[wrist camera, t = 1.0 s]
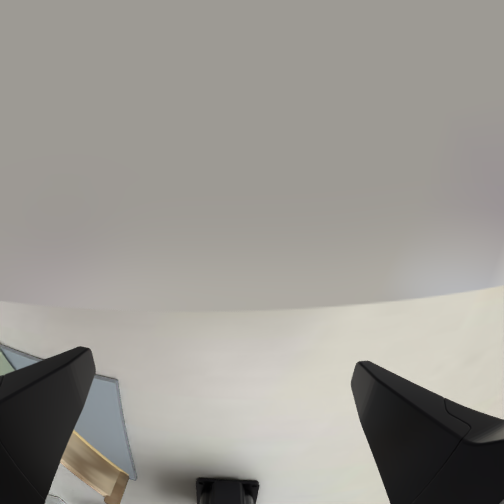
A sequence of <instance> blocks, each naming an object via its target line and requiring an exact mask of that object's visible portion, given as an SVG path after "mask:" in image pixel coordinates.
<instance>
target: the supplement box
mask: <svg viewBox="0 0 504 504" xmlns="http://www.w3.org/2000/svg"><path fill="white" fill-rule="evenodd" d="M45 501H46V502H45V504H66V503H65V502H64V501H63V500H62V499H61V498H58V497H54V496H50V495H47V498H46V500H45Z"/></svg>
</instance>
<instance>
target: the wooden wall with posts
mask: <svg viewBox="0 0 504 504" xmlns="http://www.w3.org/2000/svg"><path fill="white" fill-rule="evenodd" d="M60 463H61V464H62V465H64V466H65V467H66V468H67V469H68V470H70V471H71V472H72V473H73V474H74V475H76V476H77V477H78V478H80V479H81V480H82V481H83V482H85V483H86V484H87V485H89V486H90V487H91V488H93V489H94V490H96V491H97V492H98V493H100V494H101V495H103V496H104V497H105V499H104V501H105V503H107V504H120V502H121V499H122V496H123V494H124V491H125V488H126V485H127V483H128V480H129V476H128V475H127V474H125V473H123V472H121V471H119V470H118V469H116V468H115V467H114V466H112V465H111V464H110V463H108V462H107V461H106V460H105V459H103V458H102V457H101V456H100V455H98V454H97V453H96V452H95V451H94V450H92V449H91V448H90V447H89V446H88V445H87V444H86V443H84V442H83V441H82V440H81V439H80V438H79V437H78V436H77V435H76V434H74V433H73V432H72V435H71V437H70V439H69V442H68V444H67V446H66V449H65V451H64V454H63V456H62V458H61V461H60Z"/></svg>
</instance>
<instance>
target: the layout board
mask: <svg viewBox="0 0 504 504" xmlns="http://www.w3.org/2000/svg"><path fill="white" fill-rule="evenodd" d="M0 351H1V352H2V354H3V355H4V357H5V358H6V360H7V361H8V362H9V364H10V365H11V366H12V368H13V369H14V370H18V369H21V368H23V367H26V366H29V365H32V364H34V363H37V362H40V361H42V359H39V358H36V357H33V356H30V355H28V354H25V353H22V352H19V351H17V350H14V349H12V348H9V347H6V346H4V345H1V344H0ZM73 433H74V434H76V435H77V436H78V437H79V438H80V439H81V440H82V441H83V442H84V443H86V444H87V445H88V446H89V447H90V448H91V449H92V450H94V451H95V452H96V453H97V454H98V455H100V456H101V457H102V458H103V459H105V460H106V461H107V462H108V463H110V464H111V465H112V466H114V467H115V468H116V469H118V470H119V471H121V472H123V473H125V474H127V475H128V476H129V479H131V480H135V481H136V479H137V475H136V471H135V467H134V463H133V459H132V455H131V451H130V447H129V442H128V438H127V433H126V428H125V423H124V417H123V412H122V406H121V399H120V393H119V386H118V380H116V379H112V378H107V377H103V376H99V375H95V376H94V379H93V382H92V385H91V388H90V390H89V393H88V396H87V399H86V402H85V405H84V408H83V410H82V412H81V415H80V417H79V419H78V421H77V423H76V426H75V428H74V430H73Z"/></svg>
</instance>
